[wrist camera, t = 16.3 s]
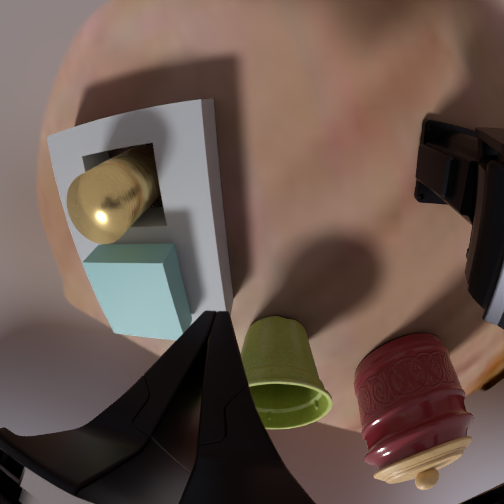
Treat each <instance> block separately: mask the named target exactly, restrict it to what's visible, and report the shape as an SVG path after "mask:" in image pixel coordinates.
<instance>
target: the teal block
mask: <svg viewBox="0 0 504 504" xmlns="http://www.w3.org/2000/svg"><path fill="white" fill-rule="evenodd" d="M82 263H83V266H84V268H85V271H86V273H87V275H88V278H89V280H90V283H91V285H92V287H93V290H94V292H95V294H96V296H97V299H98V301H99V303H100V305H101V307H102V309H103V311H104V313H105V315H106V318H107V320H108V322H109V324H110V326H111V327H112V329H113V331H114V333H118V334H125V335H133V336H141V337H149V338H158V339H168V340H177V339H178V338H179V337H180V336H181V335H182V334H183V333H184V332H185V331H186V330H187V329H188V328H189V327H190V325H191V322H192V315H191V312H190V308H189V304H188V300H187V296H186V292H185V288H184V284H183V280H182V275H181V271H180V267H179V262H178V258H177V253H176V249H175V244H174V243H160V244H110V245H98V246H97V247H96V248H95V249H94V250H93V251H92V252H91V253H90V254H89V255H88V257H87V258H86V259H85V260H84V261H83V262H82Z"/></svg>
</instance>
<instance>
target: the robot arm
mask: <svg viewBox="0 0 504 504" xmlns="http://www.w3.org/2000/svg"><path fill="white" fill-rule="evenodd" d="M428 124H430V128H429V129H428V127H427V126H428ZM416 178H417V180H416V187H415V193H414V197H415V199H416V200H417V201H418V202H421V203H435V204H447V205H450V206H451V207H452V208H453V209H454V210H455V211H457V212H458V213H459V214H460V215H461V216H462V217H463V218H465V219H466V220H467V221H468V222H469V223H470V224H471V225H472V232H471V238H470V244H469V248H468V249H467V253H466V258H467V263H466V269H465V274H466V278H467V282H468V285H469V286H468V291H469V293H470V294H471V296H472V297H473V299H474V300H475V301H476V302H477V303H478V304H479V305H480V306H481V307H482V308H483V309H485V311H484V314H483V316H482V318H483V320H485V321H487V322H490V323H492V324H495V325H498V326H499V327H501V328H502V329H504V129H501V128H483V127H476V131H473V130H470V129H466V128H463V127H459V126H455V125H451V124H447V123H442V122H438V121H433V120H429V119H426V120H424V121H423V123H422V135H421V145H420V146H419V152H418V161H417V170H416ZM421 193H422V196H421V197H420V198H419V195H420V194H421ZM0 504H316V503H315V502H314V501H313V500H312V499H311V498H310V497H309V495H308V494H307V493H306V492H305V490H304V489H303V488H302V487H301V485H300V484H299V483H298V482H297V480H296V479H295V478H294V477H293V475H292V474H291V473H290V471H289V470H288V469H287V467H286V466H285V464H284V462H283V461H282V459H281V457H280V455H279V454H278V452H277V450H276V448H275V446H274V444H273V442H272V440H271V438H270V436H269V434H268V432H267V430H266V428H265V426H264V424H263V422H262V420H261V418H260V416H259V413H258V411H257V409H256V406H255V403H254V400H253V397H252V394H251V390H250V387H249V384H248V380H247V377H246V373H245V369H244V366H243V362H242V358H241V355H240V351H239V347H238V344H237V340H236V336H235V332H234V328H233V324H232V321H231V317H230V313H229V311H218V312H217V311H211V310H206V311H204V312H203V313H202V314H201V315H200V316H199V317H198V318H197V319H196V320H195V321H194V322H193V323H192V324H191V326H190V327H189V328H188V329H187V330H186V331H185V332H184V333H183V334H182V335H181V336H180V337H179V338H178V339H177V340H176V341H175V342H174V343H173V344H172V345H171V346H170V348H169V349H168V350H167V351H166V352H165V353H164V354H163V355H162V356H161V357H160V358H159V359H158V360H157V361H156V362H155V363H154V364H153V365H152V366H151V368H149V369H148V371H147V372H146V373H145V374H144V376H142V377H141V378H140V379H139V380H138V381H137V382H136V383H135V384H134V385H133V386H132V387H131V388H130V389H129V390H128V391H127V392H126V393H124V394H123V395H122V396H121V397H120V398H119V399H117V400H116V401H115V402H114V403H113V404H111V405H110V406H109V407H108V408H107V409H105V410H104V411H103V412H102V413H101V414H99V415H98V416H97V417H95V418H94V419H93V420H92V421H90V422H89V423H88V424H86V425H84V426H82V427H80V428H77V429H73V430H68V431H62V432H57V433H51V434H45V435H37V436H27V437H26V436H19V435H15V434H14V433H12V432H11V431H9V430H8V429H7V428H4V427H3V428H0ZM460 504H504V483H502V484H500V485H498V486H496V487H494V488H492V489H490V490H488V491H486V492H483V493H481V494H479V495H477V496H475V497H473V498H471V499H469V500H466V501H464V502H462V503H460Z"/></svg>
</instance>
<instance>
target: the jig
mask: <svg viewBox="0 0 504 504" xmlns="http://www.w3.org/2000/svg"><path fill="white" fill-rule="evenodd" d="M47 141H48V147H49V152H50V157H51V162H52V167H53V171H54V175H55V179H56V184H57V187H58V191H59V195H60V199H61V202H62V206H63V209H64V213H65V216H66V219H67V222H68V225H69V228H70V231H71V234H72V237H73V240H74V243H75V246H76V249H77V251H78V254H79V257H80V259H81V262H83V261H84V260H85V259H86V258H87V257H88V255H89V254H90V253H91V252H92V251H93V250H94V249H95V248H96V247H97V246H98V245H110V244H160V243H174V244H175V249H176V253H177V258H178V262H179V267H180V271H181V275H182V280H183V284H184V288H185V292H186V296H187V300H188V304H189V308H190V312H191V315H192V322H191V324H192V323H193V322H194V321H195V320H196V319H197V318H198V317H199V316H200V315H201V314H202V313H203V312H204V311H206V310H211V311H217V312H218V311H229V313H230V315H231V310H232V304H233V299H234V298H233V290H232V282H231V273H230V265H229V256H228V247H227V238H226V228H225V219H224V209H223V199H222V189H221V179H220V168H219V157H218V146H217V134H216V122H215V109H214V98H212V99H199V100H192V101H184V102H178V103H171V104H165V105H160V106H154V107H149V108H144V109H139V110H135V111H130V112H126V113H122V114H118V115H114V116H110V117H106V118H102V119H99V120H95V121H92V122H88V123H85V124H82V125H79V126H75V127H72V128H69V129H66V130H63V131H61V132H58V133H55V134H52V135H50V136H47ZM147 143H153V148H154V155H155V161H156V168H157V174H158V180H159V186H160V192H161V197H162V203H163V207H149V208H147V209H146V211H145V212H144V213H143V214H142V215H141V216H140V217H139V218H138V219H137V220H136V221H135V222H134V223H133V224H132V226H131V227H130V228H129V229H128V230H127V231H126V232H125V233H124V234H123V235H122V237H121V238H120V239H118V240H117V241H115V242H113V243H110V244H99V243H95V242H93V241H90V240H89V239H87V238H86V237H84V236H83V235H82V234H81V233H80V232H79V231H78V230H77V229H76V227H75V226H74V224H73V223H72V221H71V219H70V216H69V214H68V210H67V201H66V199H67V192H68V189H69V186H70V184H71V183H72V181H73V180H74V179H75V178H76V177H78V176H79V175H81V174H83V173H85V172H86V171H88V170H90V169H92V168H94V167H95V166H97V165H99V164H101V163H103V162H105V161H107V160H109V159H110V157H109V152H108V150H113V149H118V148H124V147H129V146H135V145H141V144H147ZM82 264H83V263H82ZM83 267H84V266H83ZM84 269H85V268H84ZM85 272H86V271H85ZM86 274H87V273H86ZM87 277H88V275H87ZM88 279H89V278H88ZM89 282H90V280H89ZM90 284H91V283H90ZM91 286H92V285H91ZM92 288H93V287H92ZM93 291H94V290H93ZM94 293H95V292H94ZM95 295H96V294H95ZM96 297H97V296H96ZM97 300H98V299H97ZM98 302H99V301H98ZM99 304H100V303H99ZM100 306H101V305H100ZM101 308H102V307H101ZM102 310H103V309H102ZM103 312H104V311H103ZM104 314H105V313H104ZM105 317H106V315H105Z"/></svg>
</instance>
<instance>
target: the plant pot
mask: <svg viewBox="0 0 504 504" xmlns="http://www.w3.org/2000/svg"><path fill="white" fill-rule="evenodd" d="M241 358H242V362H243V366H244V369H245V373H246V377H247V380H248V384H249V387H250V390H251V394H252V397H253V400H254V403H255V406H256V409H257V411H258V413H259V416H260V418H261V420H262V422H263V424H264V426H265V428H266V429H288V428H294V427H299V426H303V425H307V424H309V423H313V422H315V421H317V420H319V419H321V418H322V417H324V416H325V415H326V414H327V413H328V412H329V411H330V410H331V408H332V405H333V401H332V397H331V395H330V394H329V392H328V391H326V390H325V388H324V385H323V383H322V382H321V380H320V379H319V376H318V373H317V369H316V366H315V362H314V359H313V355H312V352H311V348H310V344H309V340H308V337H307V334H306V330H305V328H304V327H303V326H302V325H301V324H300V323H299V322H298V321H296V320H293V319H292V320H290V319H285V318H282V317H280V316H271V317H266V318H263V319H260V320H258V321H256V322H255V323H253V324H252V325H251V326H250V328H249V330H248V332H247V334H246V337H245V340H244V344H243V348H242V351H241Z"/></svg>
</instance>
